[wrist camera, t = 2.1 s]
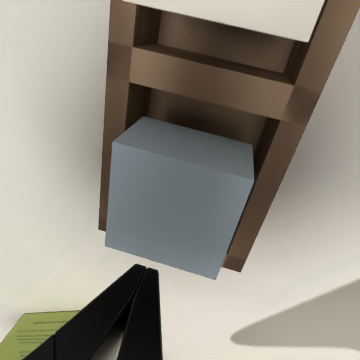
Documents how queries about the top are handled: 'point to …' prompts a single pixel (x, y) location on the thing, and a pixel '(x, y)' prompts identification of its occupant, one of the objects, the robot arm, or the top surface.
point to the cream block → (249, 14)
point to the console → (219, 91)
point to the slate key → (177, 194)
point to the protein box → (33, 333)
